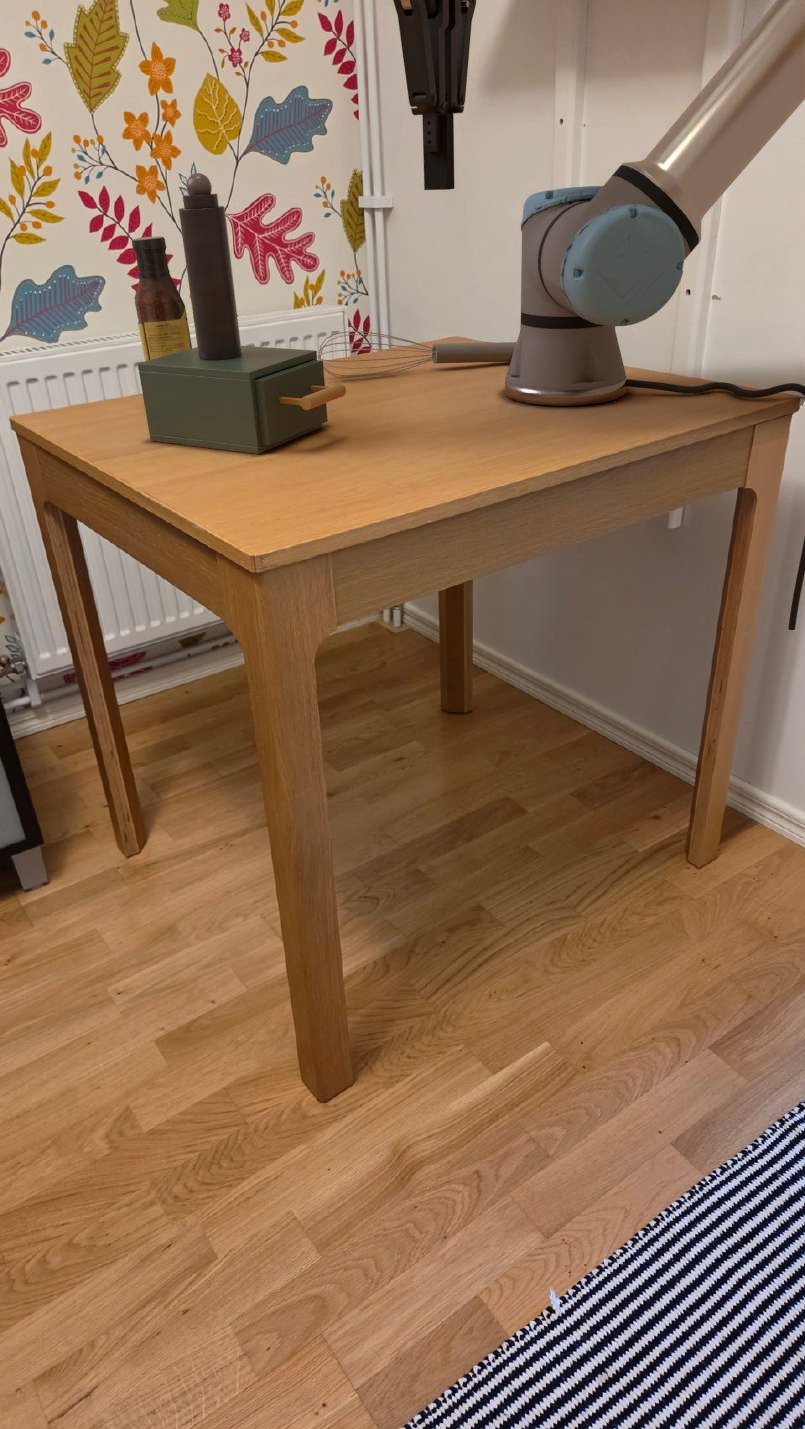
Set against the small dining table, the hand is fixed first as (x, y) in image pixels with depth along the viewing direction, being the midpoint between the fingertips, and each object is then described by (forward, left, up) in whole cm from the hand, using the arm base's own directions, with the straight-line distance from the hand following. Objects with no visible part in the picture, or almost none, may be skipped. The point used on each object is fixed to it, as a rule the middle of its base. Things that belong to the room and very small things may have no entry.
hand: (439, 189), depth 101 cm
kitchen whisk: (+18, -30, -25) cm, 42 cm away
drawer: (+18, +10, -24) cm, 31 cm away
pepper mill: (+23, +10, -16) cm, 30 cm away
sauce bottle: (+40, 0, -25) cm, 47 cm away
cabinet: (+22, +10, -24) cm, 34 cm away
